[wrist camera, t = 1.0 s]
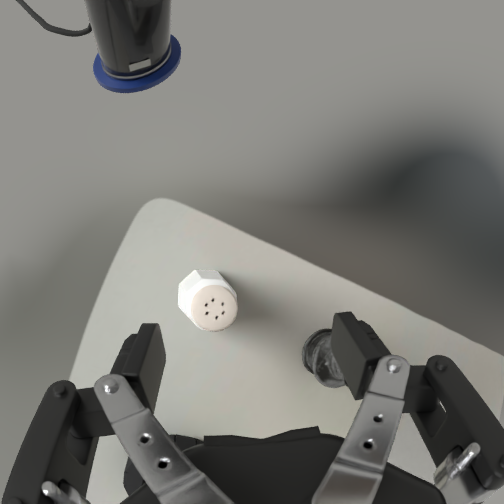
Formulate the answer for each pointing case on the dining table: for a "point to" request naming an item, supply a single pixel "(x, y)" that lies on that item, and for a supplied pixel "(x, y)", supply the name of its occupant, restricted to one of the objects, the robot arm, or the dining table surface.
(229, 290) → the pepper shaker
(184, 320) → the dining table surface
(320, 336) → the grey chess piece
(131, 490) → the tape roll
